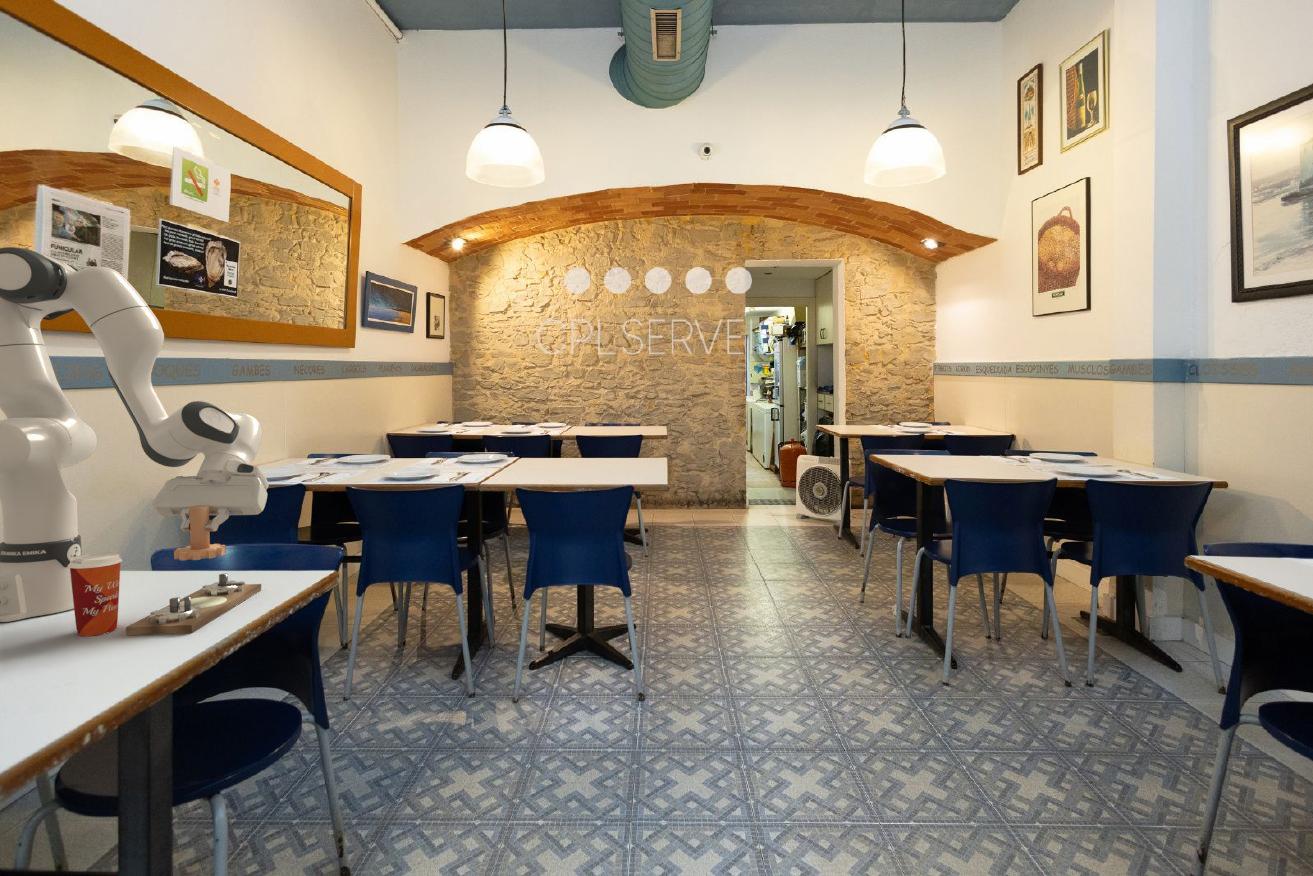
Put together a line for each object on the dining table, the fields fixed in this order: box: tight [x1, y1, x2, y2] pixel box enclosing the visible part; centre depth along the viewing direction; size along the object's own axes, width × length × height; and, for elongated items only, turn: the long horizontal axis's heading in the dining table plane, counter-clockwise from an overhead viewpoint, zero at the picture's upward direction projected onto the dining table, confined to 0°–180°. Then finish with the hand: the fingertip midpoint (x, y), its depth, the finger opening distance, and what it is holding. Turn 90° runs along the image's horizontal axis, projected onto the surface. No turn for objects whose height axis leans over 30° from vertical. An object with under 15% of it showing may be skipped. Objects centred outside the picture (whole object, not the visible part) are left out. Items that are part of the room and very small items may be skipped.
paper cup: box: [67, 551, 123, 637], centre depth 120 cm, size 8×8×14 cm
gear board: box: [125, 583, 262, 636], centre depth 133 cm, size 11×28×2 cm, turn 8°
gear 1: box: [148, 596, 200, 624], centre depth 124 cm, size 8×8×4 cm
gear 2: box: [201, 573, 246, 596], centre depth 141 cm, size 8×8×4 cm
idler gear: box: [173, 506, 227, 561], centre depth 132 cm, size 8×8×10 cm
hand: (198, 529), depth 131 cm, fingers closed on idler gear, 3 cm apart
